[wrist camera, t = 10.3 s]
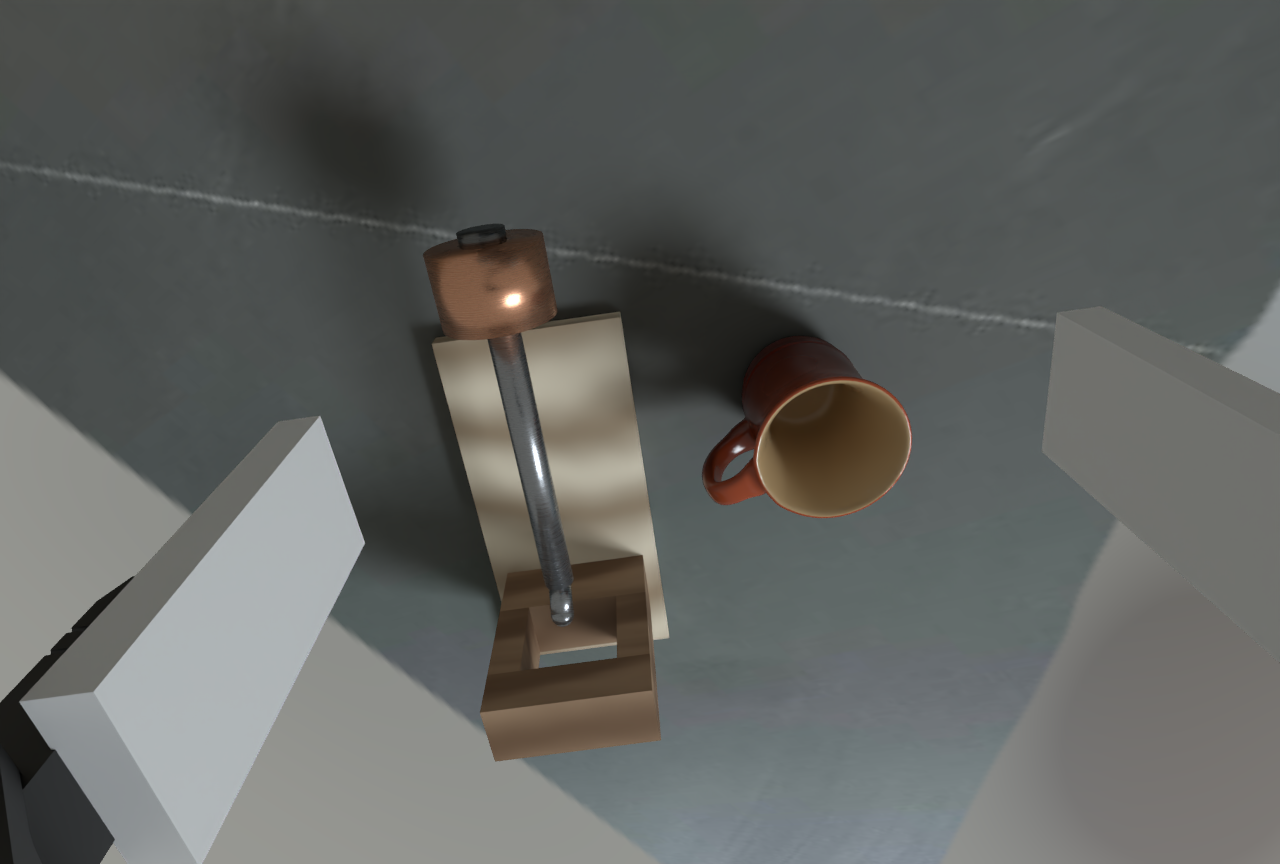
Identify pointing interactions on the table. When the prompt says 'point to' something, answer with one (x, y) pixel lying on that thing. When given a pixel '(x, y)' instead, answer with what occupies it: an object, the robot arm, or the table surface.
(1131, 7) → the table surface
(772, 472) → the mug
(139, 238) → the table surface
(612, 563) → the eye block
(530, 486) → the copper and grey mallet
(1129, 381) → the robot arm
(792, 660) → the table surface
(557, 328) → the board
